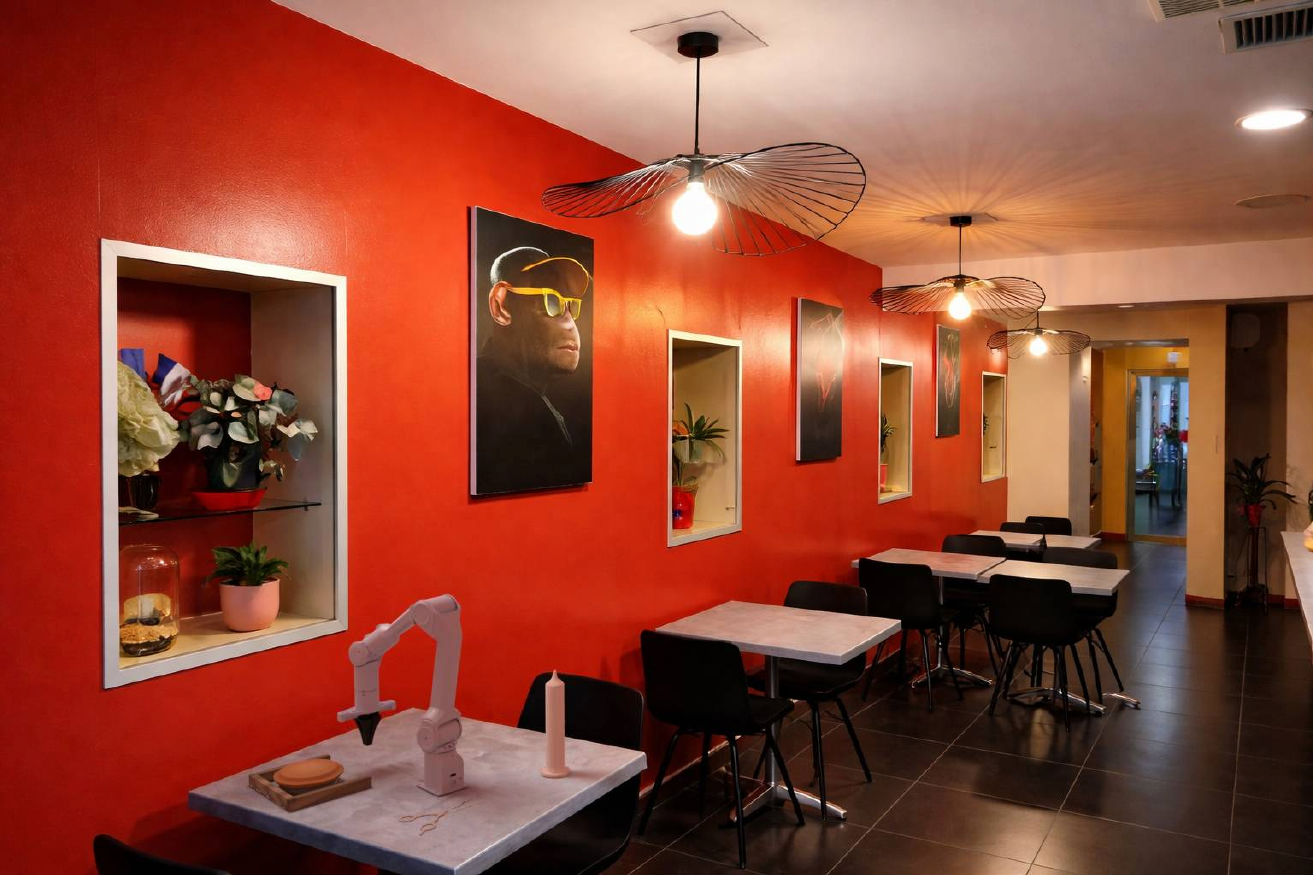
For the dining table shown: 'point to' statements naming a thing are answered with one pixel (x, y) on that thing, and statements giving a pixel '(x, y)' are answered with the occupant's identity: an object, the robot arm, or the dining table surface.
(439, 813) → the scissors
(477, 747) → the dining table surface
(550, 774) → the candle
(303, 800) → the serving rack
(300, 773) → the pie
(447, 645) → the robot arm
